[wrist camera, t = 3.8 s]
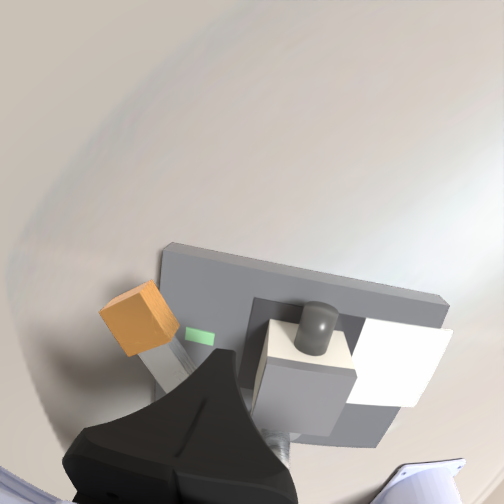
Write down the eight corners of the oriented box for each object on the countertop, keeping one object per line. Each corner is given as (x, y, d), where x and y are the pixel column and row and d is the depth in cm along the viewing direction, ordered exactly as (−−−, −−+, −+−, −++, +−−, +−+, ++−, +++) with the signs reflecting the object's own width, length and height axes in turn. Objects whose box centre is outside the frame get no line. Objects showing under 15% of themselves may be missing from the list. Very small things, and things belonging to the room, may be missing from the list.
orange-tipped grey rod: (296, 433, 18) (297, 501, 13) (267, 441, 19) (262, 507, 13) (184, 247, 15) (139, 292, 10) (151, 264, 16) (98, 312, 10)
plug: (322, 387, 18) (328, 436, 14) (255, 377, 18) (249, 426, 14) (354, 298, 16) (373, 339, 12) (278, 283, 16) (277, 322, 12)
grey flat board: (382, 434, 21) (388, 453, 19) (161, 400, 21) (152, 419, 19) (451, 297, 17) (466, 312, 15) (172, 242, 18) (159, 253, 16)
